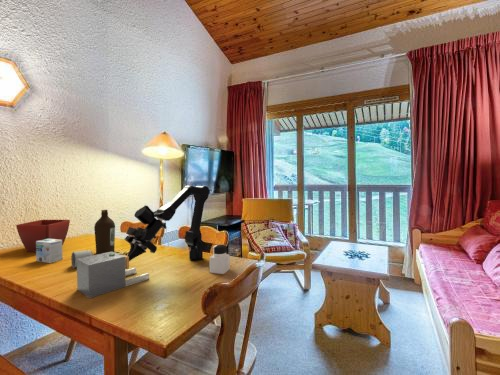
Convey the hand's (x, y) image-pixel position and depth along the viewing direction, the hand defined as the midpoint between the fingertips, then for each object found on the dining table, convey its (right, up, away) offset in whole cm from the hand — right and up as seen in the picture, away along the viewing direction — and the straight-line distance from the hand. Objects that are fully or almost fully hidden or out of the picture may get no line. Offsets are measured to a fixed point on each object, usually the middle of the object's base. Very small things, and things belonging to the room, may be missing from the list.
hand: (126, 260), depth 108 cm
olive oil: (-33, -7, +42) cm, 54 cm away
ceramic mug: (-32, -8, +20) cm, 39 cm away
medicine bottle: (+38, -8, +11) cm, 40 cm away
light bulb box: (-54, -8, +28) cm, 62 cm away
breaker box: (-3, -8, -4) cm, 10 cm away
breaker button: (-4, -3, -5) cm, 7 cm away
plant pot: (-75, -7, +50) cm, 90 cm away
